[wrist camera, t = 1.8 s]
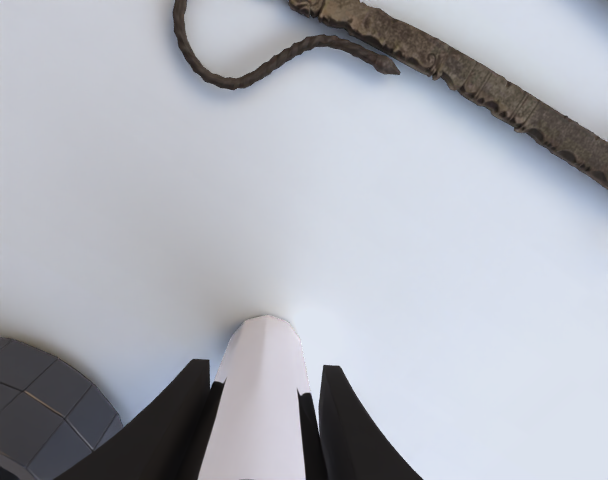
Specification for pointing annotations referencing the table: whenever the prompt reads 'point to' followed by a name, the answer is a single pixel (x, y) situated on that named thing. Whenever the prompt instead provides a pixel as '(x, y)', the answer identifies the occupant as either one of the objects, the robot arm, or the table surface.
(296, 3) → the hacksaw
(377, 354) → the table surface
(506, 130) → the table surface
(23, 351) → the bowl
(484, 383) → the table surface
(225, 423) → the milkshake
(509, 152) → the table surface
